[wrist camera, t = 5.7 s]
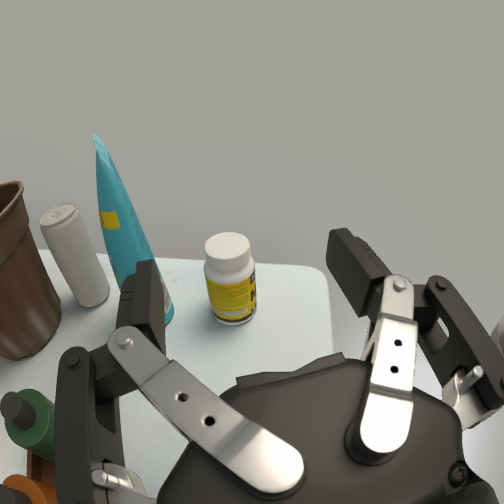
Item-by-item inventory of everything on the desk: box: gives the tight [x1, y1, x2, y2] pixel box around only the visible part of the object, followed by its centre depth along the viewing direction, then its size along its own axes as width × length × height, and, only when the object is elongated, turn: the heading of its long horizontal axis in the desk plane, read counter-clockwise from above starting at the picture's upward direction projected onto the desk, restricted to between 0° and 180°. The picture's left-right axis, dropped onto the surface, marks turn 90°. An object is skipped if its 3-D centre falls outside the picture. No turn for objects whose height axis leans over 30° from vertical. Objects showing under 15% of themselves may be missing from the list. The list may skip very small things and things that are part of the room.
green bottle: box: [0, 389, 55, 463], centre depth 14 cm, size 5×5×9 cm
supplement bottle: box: [204, 232, 256, 325], centre depth 28 cm, size 5×5×8 cm
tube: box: [93, 133, 174, 325], centre depth 24 cm, size 7×5×19 cm, turn 35°
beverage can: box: [39, 202, 110, 307], centre depth 28 cm, size 5×5×12 cm
